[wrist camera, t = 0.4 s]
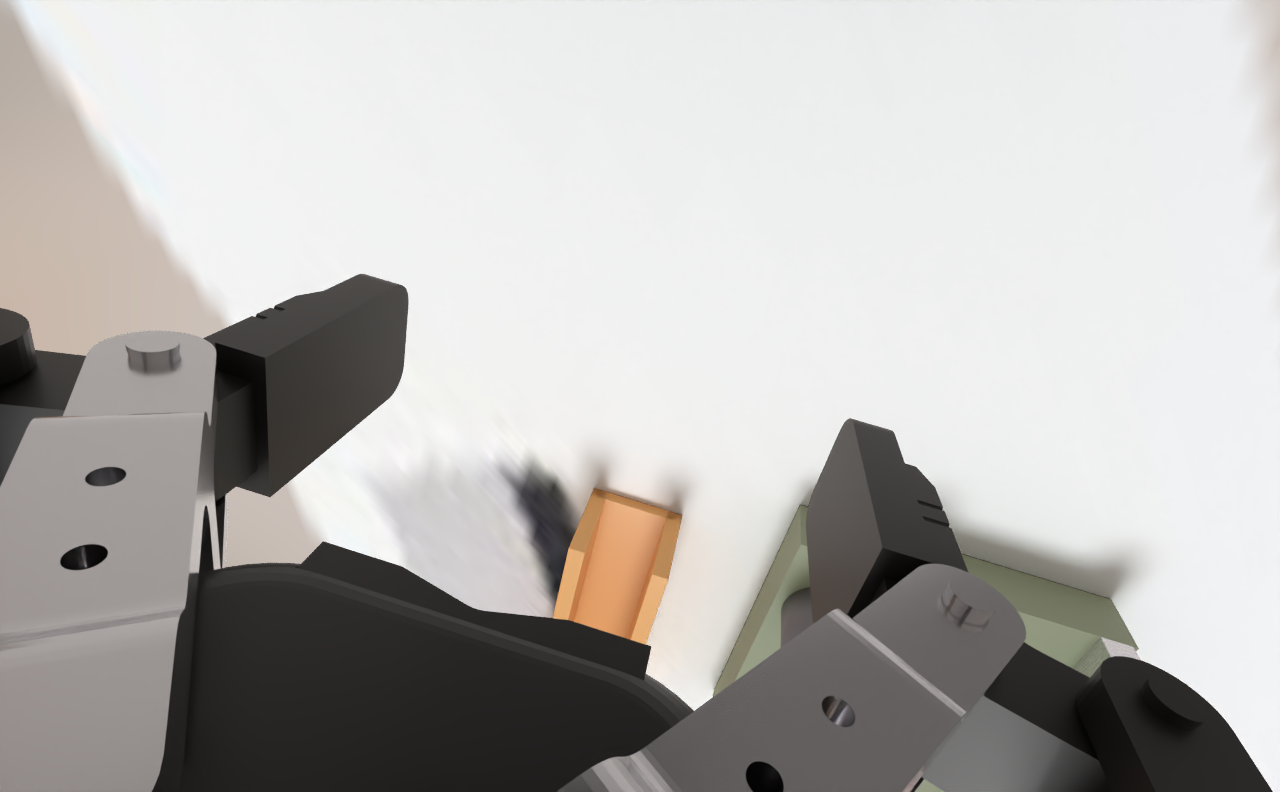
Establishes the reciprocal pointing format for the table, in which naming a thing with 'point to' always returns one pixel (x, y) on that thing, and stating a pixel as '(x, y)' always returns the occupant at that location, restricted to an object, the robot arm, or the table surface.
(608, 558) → the discharge chute
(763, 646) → the marble run board
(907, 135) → the table surface
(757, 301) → the table surface
